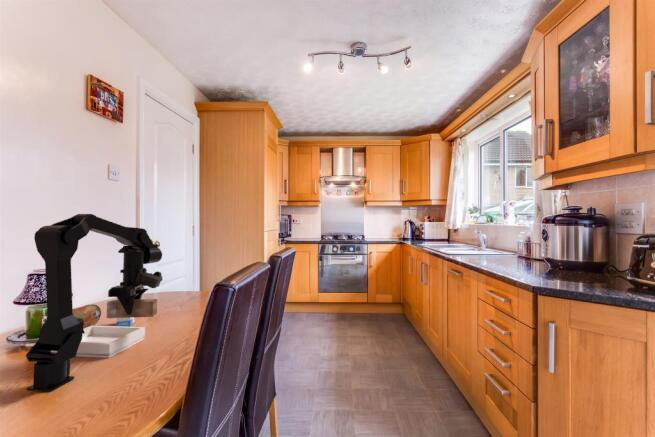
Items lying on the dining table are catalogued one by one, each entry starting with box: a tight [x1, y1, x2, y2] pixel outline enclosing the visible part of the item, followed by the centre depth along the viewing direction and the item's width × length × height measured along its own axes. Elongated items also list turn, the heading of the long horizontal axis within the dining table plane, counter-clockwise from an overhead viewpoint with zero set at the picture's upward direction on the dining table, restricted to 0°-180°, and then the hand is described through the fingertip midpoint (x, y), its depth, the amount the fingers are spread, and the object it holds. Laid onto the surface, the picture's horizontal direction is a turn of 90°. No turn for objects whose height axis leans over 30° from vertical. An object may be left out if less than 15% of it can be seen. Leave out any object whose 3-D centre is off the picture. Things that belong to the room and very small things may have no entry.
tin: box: [73, 304, 102, 329], centre depth 118 cm, size 15×3×8 cm, turn 168°
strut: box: [106, 298, 158, 319], centre depth 102 cm, size 14×4×5 cm, turn 99°
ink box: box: [116, 297, 136, 327], centre depth 123 cm, size 9×5×12 cm, turn 22°
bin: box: [51, 325, 146, 359], centre depth 101 cm, size 16×20×4 cm
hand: (132, 312), depth 102 cm, fingers closed on strut, 4 cm apart
